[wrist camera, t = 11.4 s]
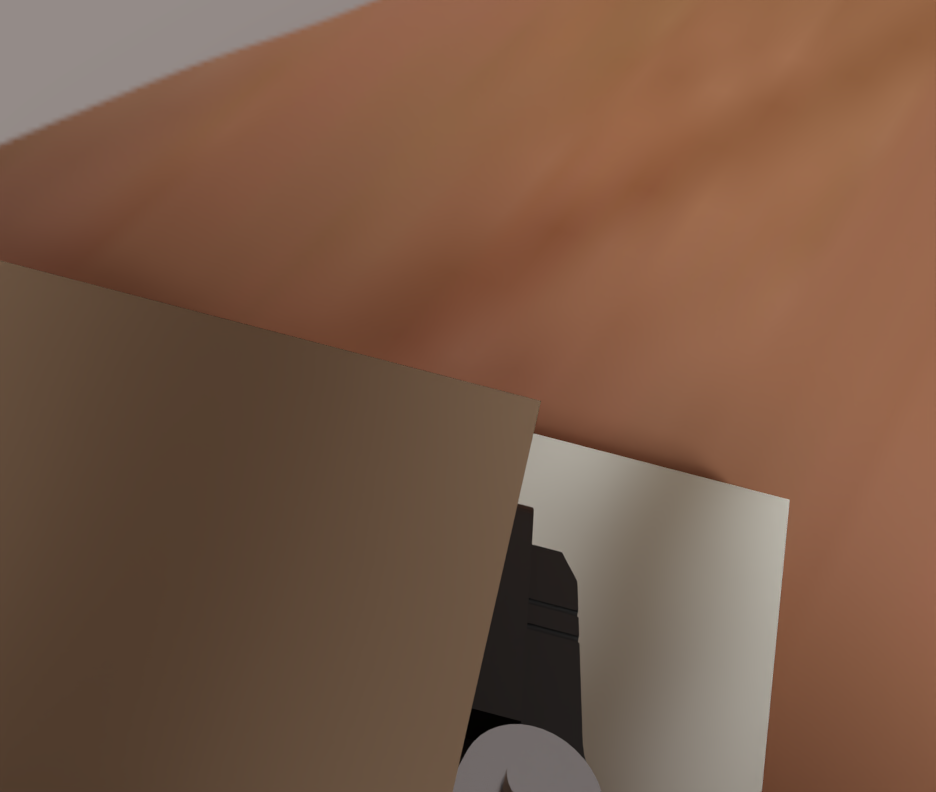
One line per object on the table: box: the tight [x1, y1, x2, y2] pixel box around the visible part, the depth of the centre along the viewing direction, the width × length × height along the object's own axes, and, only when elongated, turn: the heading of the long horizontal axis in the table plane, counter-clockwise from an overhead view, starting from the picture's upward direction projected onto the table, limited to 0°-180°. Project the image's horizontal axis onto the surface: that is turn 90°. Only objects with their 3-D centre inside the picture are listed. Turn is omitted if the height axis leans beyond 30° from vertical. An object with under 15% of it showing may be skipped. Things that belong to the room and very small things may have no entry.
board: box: [518, 434, 790, 792], centre depth 14 cm, size 18×10×2 cm, turn 76°
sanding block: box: [0, 261, 541, 792], centre depth 9 cm, size 4×5×9 cm
